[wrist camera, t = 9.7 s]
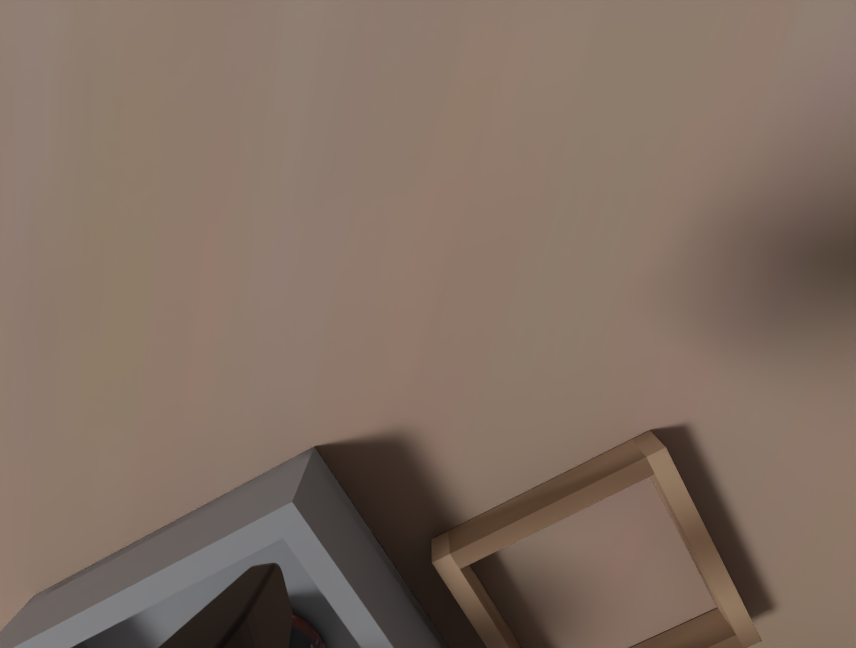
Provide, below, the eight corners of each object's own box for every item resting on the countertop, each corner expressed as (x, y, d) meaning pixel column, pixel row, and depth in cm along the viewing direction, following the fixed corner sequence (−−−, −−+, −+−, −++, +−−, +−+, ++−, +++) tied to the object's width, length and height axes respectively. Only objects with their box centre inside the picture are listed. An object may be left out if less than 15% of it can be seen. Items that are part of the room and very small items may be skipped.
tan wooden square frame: (741, 613, 24) (761, 640, 23) (537, 705, 26) (544, 737, 24) (649, 430, 22) (665, 447, 21) (431, 539, 23) (431, 562, 22)
